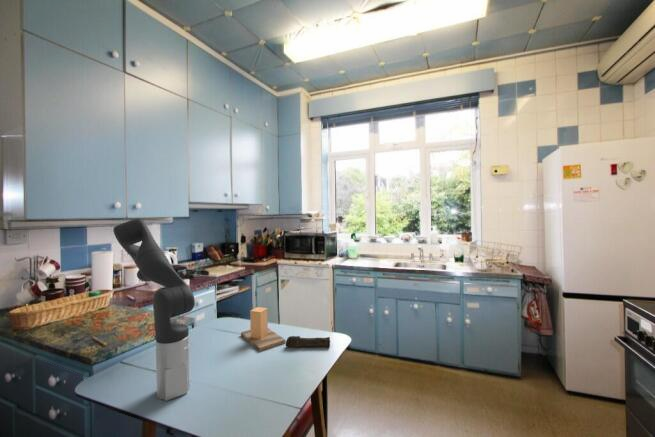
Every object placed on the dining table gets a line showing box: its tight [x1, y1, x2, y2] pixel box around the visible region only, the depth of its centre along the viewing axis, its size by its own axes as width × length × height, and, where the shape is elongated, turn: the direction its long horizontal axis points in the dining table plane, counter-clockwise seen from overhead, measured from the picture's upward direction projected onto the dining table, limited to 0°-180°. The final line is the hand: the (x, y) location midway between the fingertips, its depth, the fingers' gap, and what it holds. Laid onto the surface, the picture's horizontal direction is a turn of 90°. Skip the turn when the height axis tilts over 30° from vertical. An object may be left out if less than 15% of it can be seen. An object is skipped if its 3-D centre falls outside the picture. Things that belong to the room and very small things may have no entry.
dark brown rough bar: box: [285, 335, 331, 349], centre depth 121 cm, size 19×4×5 cm, turn 89°
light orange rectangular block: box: [249, 306, 269, 339], centre depth 128 cm, size 5×5×12 cm
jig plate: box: [240, 328, 286, 352], centre depth 128 cm, size 20×12×5 cm, turn 39°
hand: (201, 275), depth 124 cm, fingers open, 8 cm apart
